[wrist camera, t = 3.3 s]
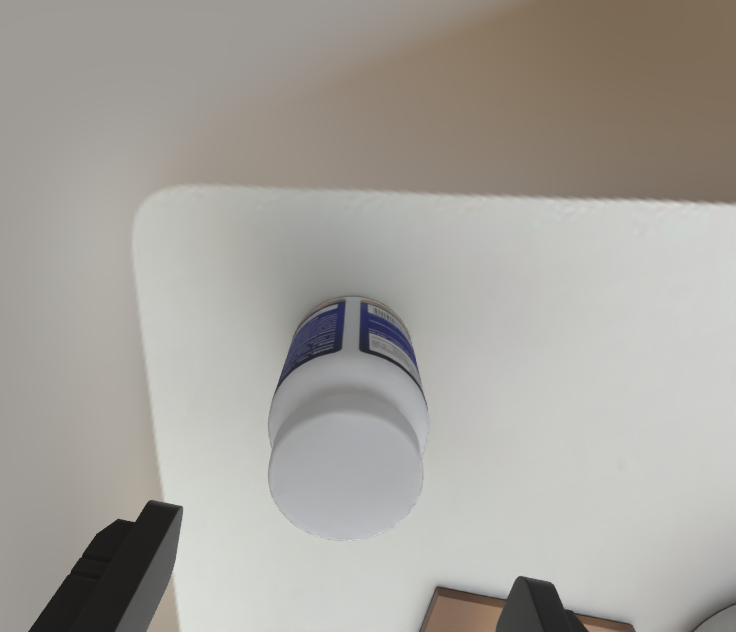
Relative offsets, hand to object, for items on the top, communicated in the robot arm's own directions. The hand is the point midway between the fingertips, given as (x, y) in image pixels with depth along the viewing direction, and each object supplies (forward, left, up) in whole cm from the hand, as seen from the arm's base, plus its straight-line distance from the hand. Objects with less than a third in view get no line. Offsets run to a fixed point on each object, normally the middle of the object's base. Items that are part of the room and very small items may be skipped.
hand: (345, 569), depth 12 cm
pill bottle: (0, 0, -14) cm, 14 cm away
